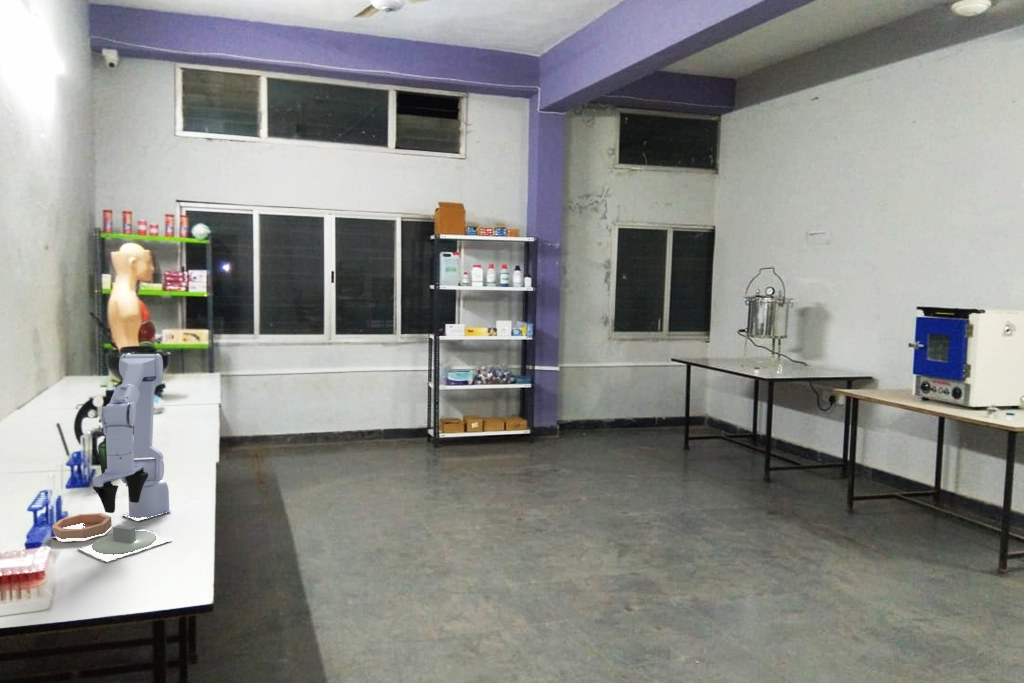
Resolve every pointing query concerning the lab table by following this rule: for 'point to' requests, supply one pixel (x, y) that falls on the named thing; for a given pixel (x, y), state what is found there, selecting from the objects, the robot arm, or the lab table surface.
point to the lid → (123, 540)
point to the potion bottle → (102, 455)
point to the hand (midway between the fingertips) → (122, 507)
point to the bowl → (93, 525)
